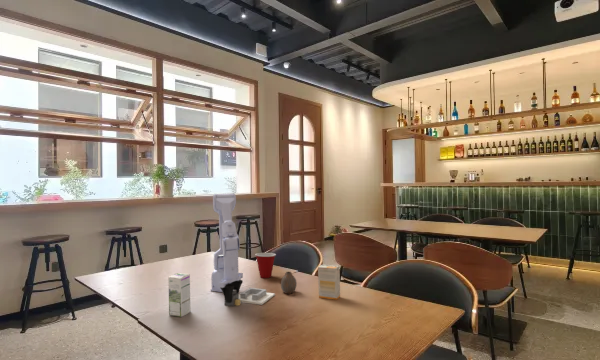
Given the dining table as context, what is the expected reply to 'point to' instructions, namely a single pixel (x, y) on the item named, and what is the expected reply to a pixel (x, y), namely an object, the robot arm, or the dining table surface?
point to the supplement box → (329, 281)
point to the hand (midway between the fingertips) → (231, 300)
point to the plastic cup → (265, 264)
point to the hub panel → (255, 296)
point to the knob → (234, 299)
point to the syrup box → (179, 294)
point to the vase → (288, 283)
